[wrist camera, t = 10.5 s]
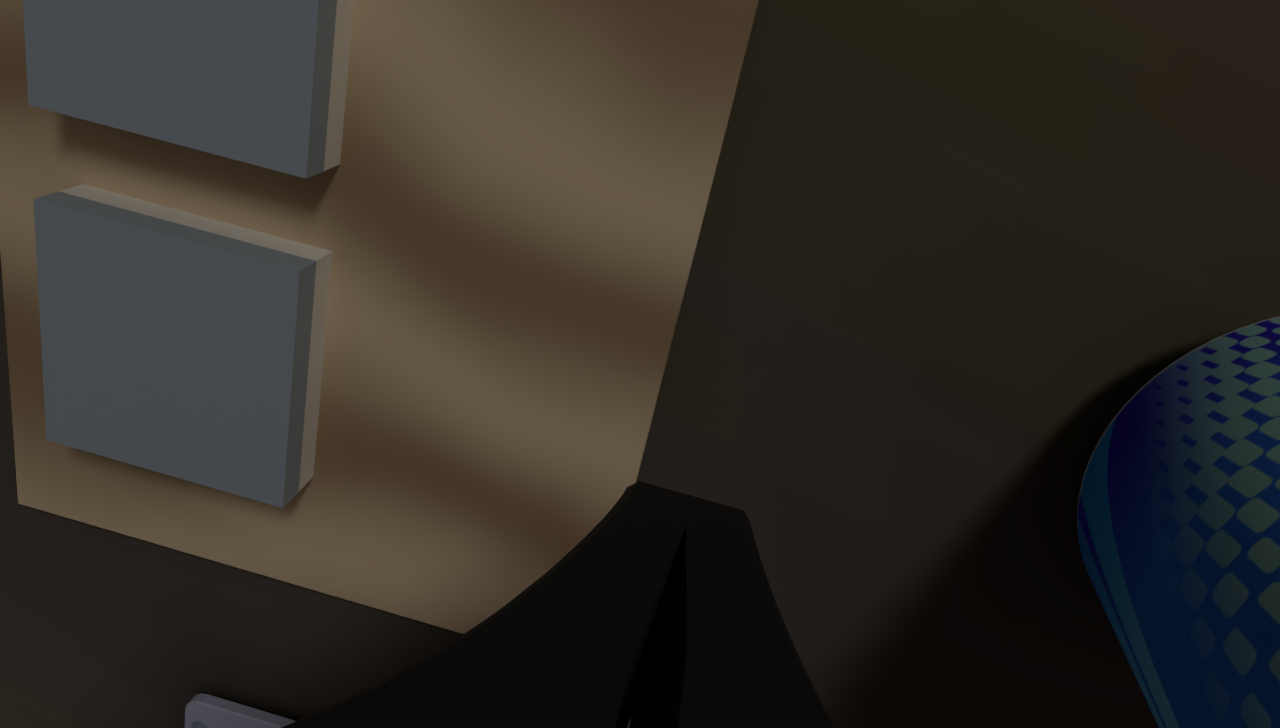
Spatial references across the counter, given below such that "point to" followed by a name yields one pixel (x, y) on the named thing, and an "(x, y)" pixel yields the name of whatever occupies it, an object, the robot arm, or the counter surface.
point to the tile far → (181, 342)
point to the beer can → (1195, 533)
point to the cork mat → (427, 290)
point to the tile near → (200, 73)
